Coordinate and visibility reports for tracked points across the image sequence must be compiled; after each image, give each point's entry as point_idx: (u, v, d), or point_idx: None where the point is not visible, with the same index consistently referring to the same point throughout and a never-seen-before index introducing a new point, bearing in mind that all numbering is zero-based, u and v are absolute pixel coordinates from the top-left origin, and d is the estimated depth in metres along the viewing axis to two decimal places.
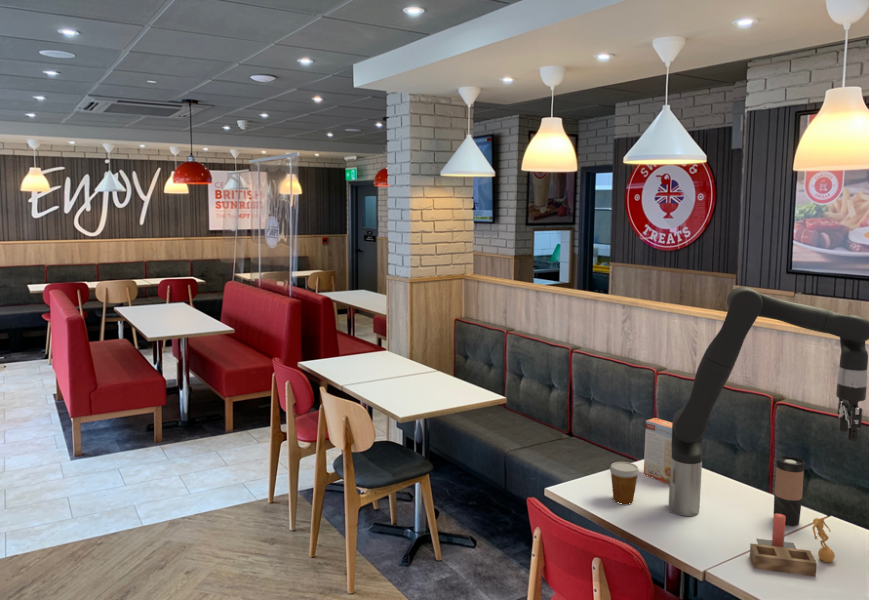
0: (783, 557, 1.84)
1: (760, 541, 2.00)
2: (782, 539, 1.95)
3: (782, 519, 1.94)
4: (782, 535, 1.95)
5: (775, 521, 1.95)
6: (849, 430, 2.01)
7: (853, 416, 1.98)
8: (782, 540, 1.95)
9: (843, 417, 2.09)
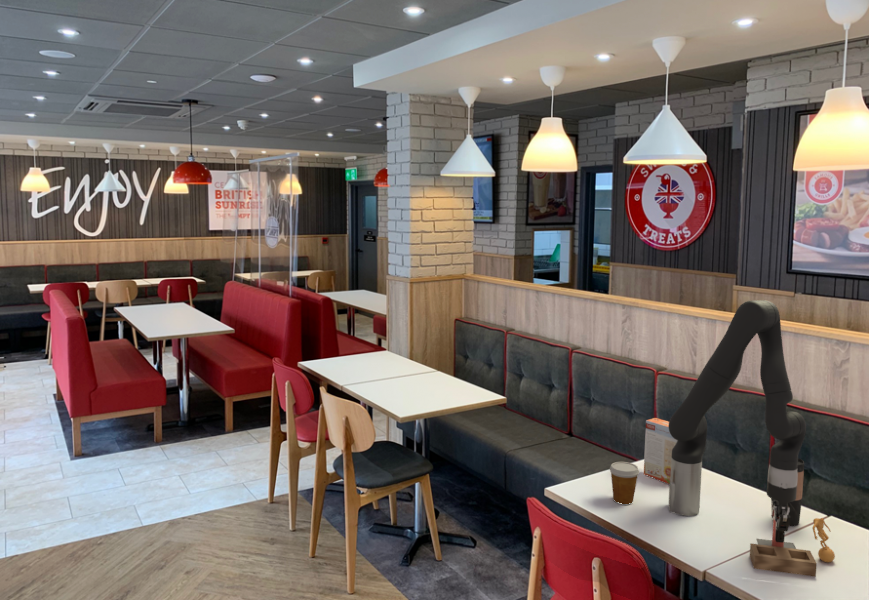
0: (783, 557, 1.84)
1: (760, 541, 2.00)
2: None
3: None
4: None
5: (775, 521, 1.95)
6: (776, 531, 1.94)
7: (780, 522, 1.90)
8: None
9: None
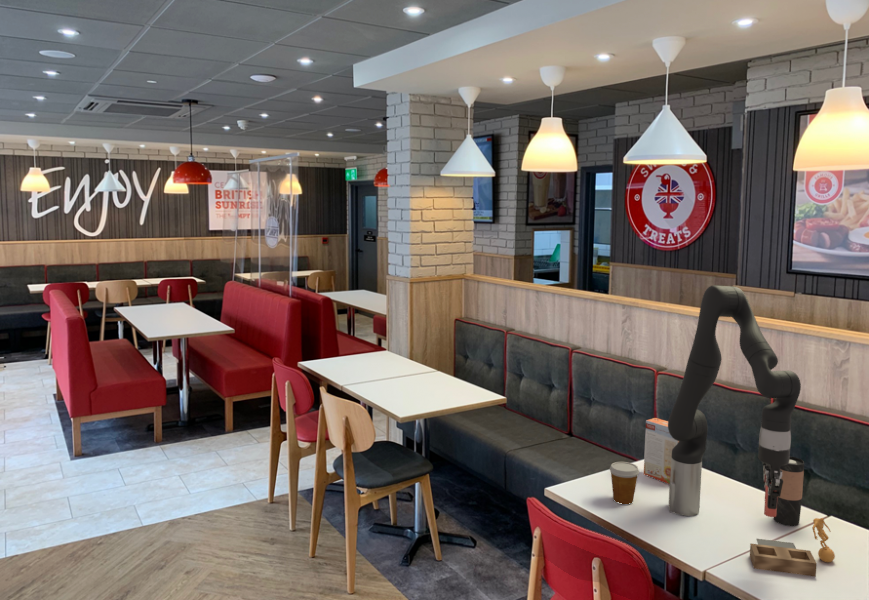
0: (783, 557, 1.84)
1: (760, 541, 2.00)
2: None
3: None
4: None
5: (767, 487, 1.84)
6: (769, 497, 1.83)
7: (772, 487, 1.79)
8: None
9: None
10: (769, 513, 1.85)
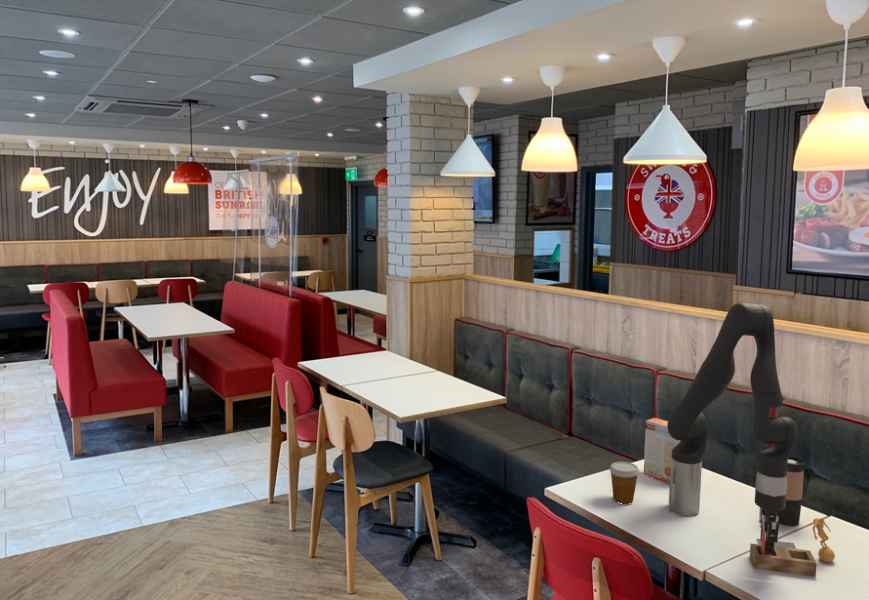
0: (783, 557, 1.84)
1: (760, 541, 2.00)
2: None
3: (771, 535, 1.85)
4: None
5: (763, 537, 1.86)
6: (766, 542, 1.84)
7: (769, 531, 1.80)
8: None
9: None
10: None
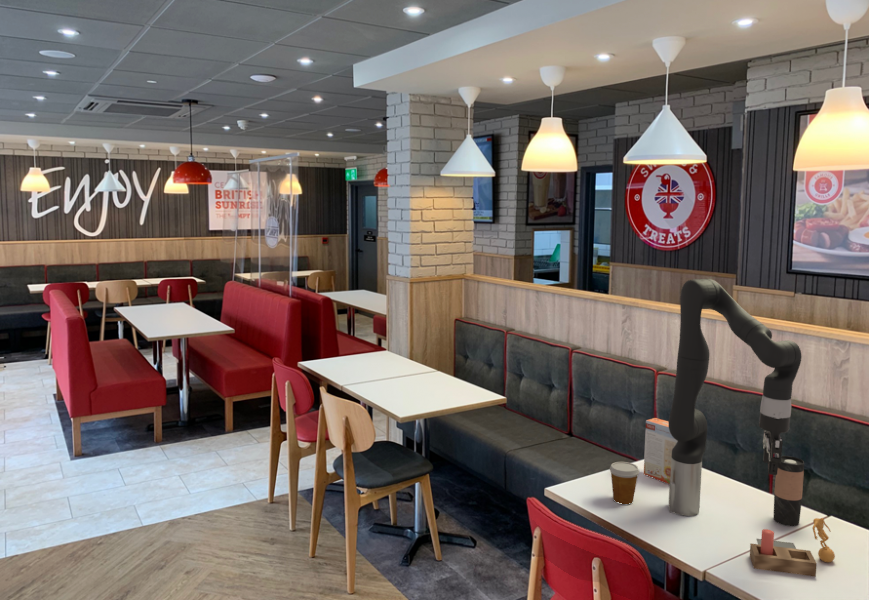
0: (783, 557, 1.84)
1: (760, 541, 2.00)
2: None
3: (771, 535, 1.85)
4: (770, 552, 1.86)
5: (763, 537, 1.86)
6: (770, 463, 1.87)
7: (773, 449, 1.84)
8: None
9: None
10: None
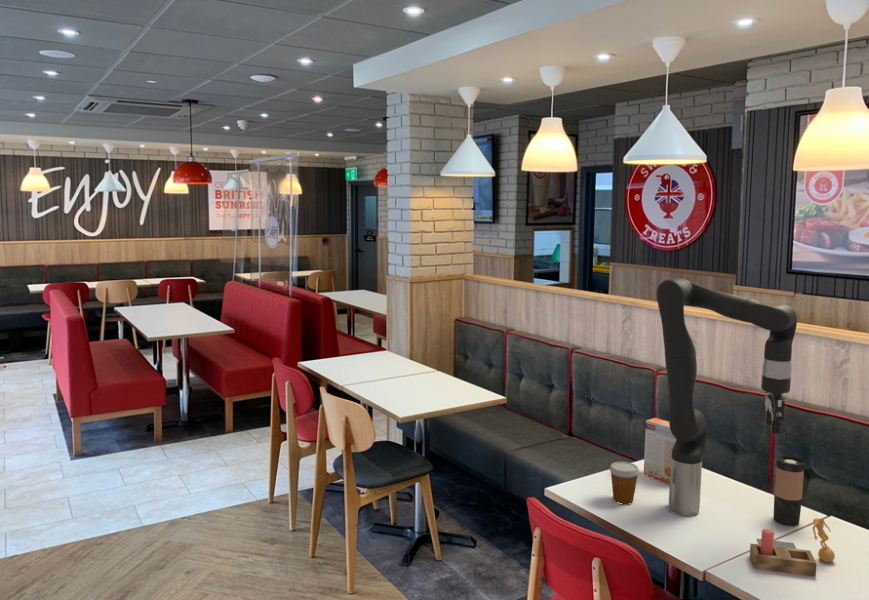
0: (783, 557, 1.84)
1: (760, 541, 2.00)
2: None
3: (771, 535, 1.85)
4: (770, 552, 1.86)
5: (763, 537, 1.86)
6: (773, 423, 1.95)
7: (775, 408, 1.92)
8: None
9: None
10: None
